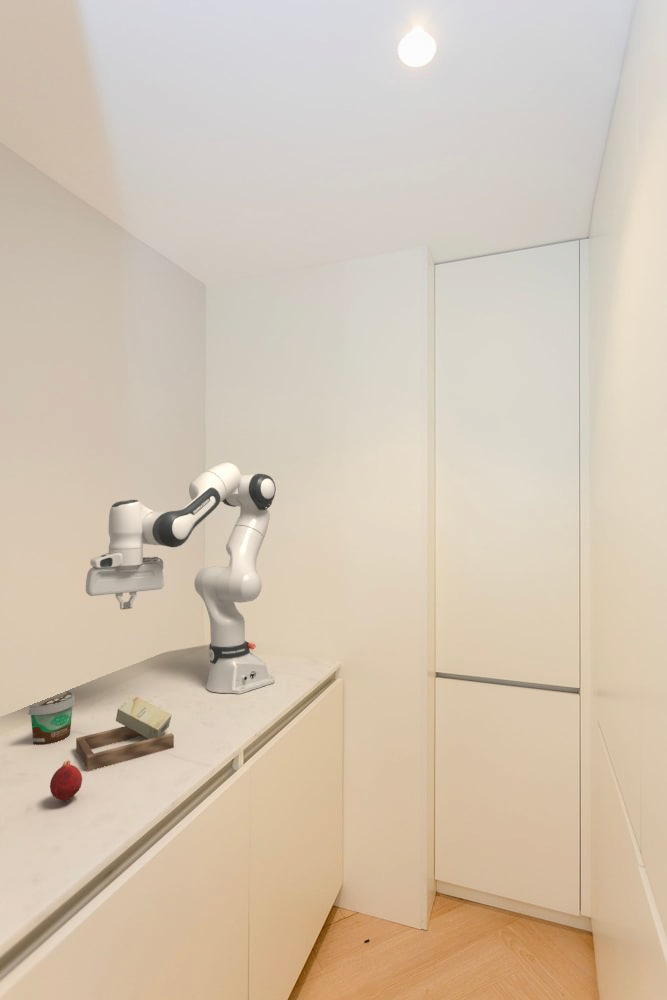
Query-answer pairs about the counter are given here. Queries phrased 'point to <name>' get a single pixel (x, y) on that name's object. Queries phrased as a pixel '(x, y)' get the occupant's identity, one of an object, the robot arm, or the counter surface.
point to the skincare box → (143, 717)
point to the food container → (52, 719)
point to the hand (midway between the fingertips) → (126, 608)
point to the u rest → (118, 753)
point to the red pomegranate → (66, 782)
